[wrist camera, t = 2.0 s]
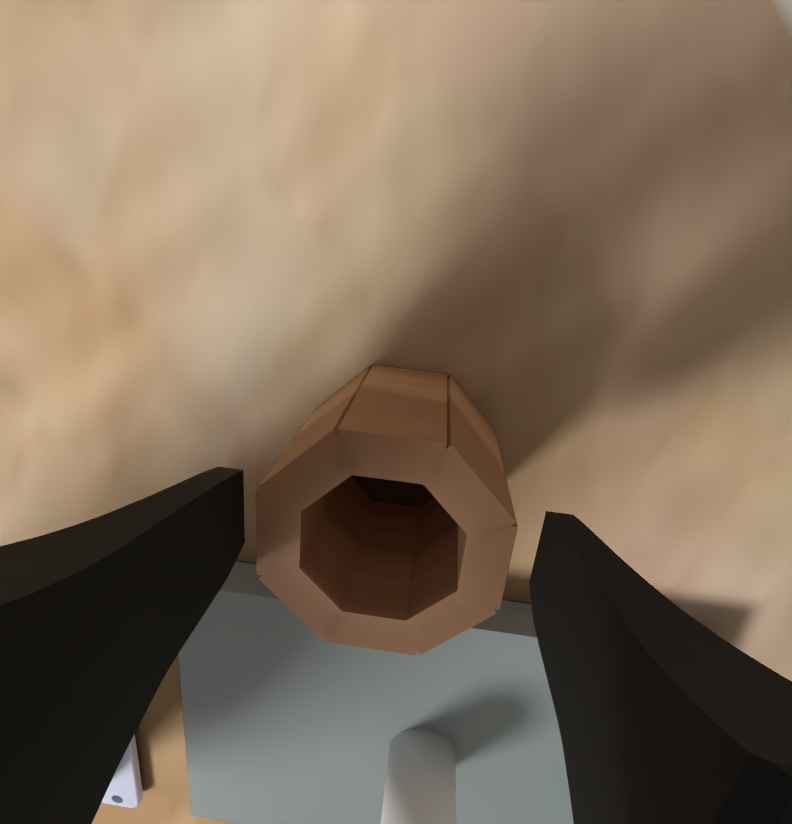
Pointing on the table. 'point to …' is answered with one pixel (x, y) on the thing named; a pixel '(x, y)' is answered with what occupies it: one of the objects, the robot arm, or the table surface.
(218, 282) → the table surface
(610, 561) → the robot arm
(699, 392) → the table surface
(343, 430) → the tube
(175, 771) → the table surface
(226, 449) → the table surface
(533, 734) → the post board
